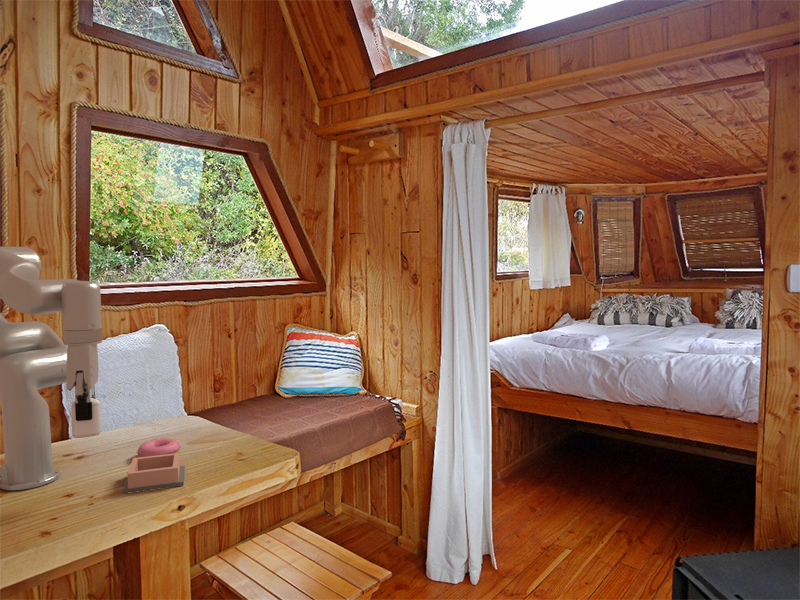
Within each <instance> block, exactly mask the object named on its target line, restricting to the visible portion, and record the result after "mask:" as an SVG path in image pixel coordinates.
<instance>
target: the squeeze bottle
mask: <svg viewBox="0 0 800 600" xmlns="http://www.w3.org/2000/svg"><path fill="white" fill-rule="evenodd" d="M84 388H87V386H83V389H84ZM84 393H86V394H87V391H86V392H84ZM86 396H87V395H86ZM91 397H92V394H91V389H90V402H92V419H91V420H85V421H76V414H75V400H74V401H73V402H72V403H71V405H70V406H71V412H70V413H71V432H72V433H71V435H72V438H75V439H80V438H81V439H82V438H91V437H95V436H99V435H100V434H101V433H102V428H101V421H102V420H101V403H100V402H101V401H100V399H97V398H95V399H94V398H91Z"/></svg>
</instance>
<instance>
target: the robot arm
mask: <svg viewBox="0 0 800 600" xmlns="http://www.w3.org/2000/svg"><path fill="white" fill-rule="evenodd" d="M41 271H42V261H41V257H40V255H39V254H38V253H37V251H35V250H33V249H32V248H30V247H26V246H0V300H2V301H3V303H4V304H5V305H6V306H7V307H9V308H11V309H13V310H15V311H17V312H19V313H22V314H24V315H25V314H26V315H36V316H37V315H44V314H54V313H62V315H61V318H62V337H63V340H62V339H61V338H60V337H59V335H58V334H57V333H56V332H55V331H54V329H52V328H51V326H50V325H48V324H46V323H45V322H42V321H37V320H36V321H35V320H32V321H31V320H30V321H21V322H11V321H8V320H7V319H6V318H5V317H4V316H3V315H2V313H1V312H0V407H1V410H0V411H1V420H2V434H3V435H2V436H3V449H4V450H3V451H4V463H5V464H2V465H1V466H0V489H1V490H5V491H23V490H29V489H34V488H38V487H42V486H44V485H47V484H50V483H52V482H54V481H56V480H57V479H58V478H59V477H60V476H61V469H59V468H58V467H56V466H53V454H52V451H53V450H52V435H51V420H50V419H51V418H50V417H51V416H50V407H49V405H48V402H47V400H45V399H44V397H43V396H41V394H40V393H39V391H38V390H42V389H46V388H50V387H55V386H61V385H64V384H65V385H66V386H65V387H66V390H67V391H72V390H73V389H75V391H74V395H75V396H74V401H75V414H76V421H85V420H91V419H92V402H90V389H91V394H92V397H91V398H94V399H96V393H95V385H96V384H97V382H98V380H99V355H98V353H99V352H98V351H99V350H98V344H102V343H103V327H102V326H103V325H102V297H101V295H102V294H101V287H100V284H99V283H98V282H96V281H92V280H91V281H90V280H79V279H74V278H62V279H61V278H60V279H58V278H53V279H50V278H49V279H40V277H41ZM83 386H87V388H84V389H83ZM86 391H87V394H86V393H84V392H86ZM86 395H87V396H86Z"/></svg>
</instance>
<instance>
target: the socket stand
mask: <svg viewBox="0 0 800 600" xmlns="http://www.w3.org/2000/svg"><path fill="white" fill-rule="evenodd" d="M180 454H181V453H180V452H179V453H174V454H165V455H156V456H148V457H133V458H132V459H131V463H130V466H129V468H128V472H127V476H126V479H125V482H124V485H123V487H122V494H123V493H125V494H129V493H128V492H133V493H138V492H137V491H140V492H144V491H143V490H148V491H151V490H150V489H155V490H159V489H158V488H163V489H167V488H166V487H170V488H175V487H174V486H178V487H184V486H183V485H185V474H186V473H185V471H186V465H181V455H180ZM184 473H185V474H184Z"/></svg>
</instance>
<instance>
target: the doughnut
mask: <svg viewBox="0 0 800 600" xmlns="http://www.w3.org/2000/svg"><path fill="white" fill-rule="evenodd" d="M180 449H181V444H180V442H179V441H178V440H177V439H174V438H167V437H166V438H165V437H164V438H162V437H161V438H155V439H150V440H148V441H145V442H144V443H142V444H140V445H139V447H138V449H137V451H136V454H137V458H139V457H148V456H156V455H165V454H174V453H180V451H181V450H180Z"/></svg>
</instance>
